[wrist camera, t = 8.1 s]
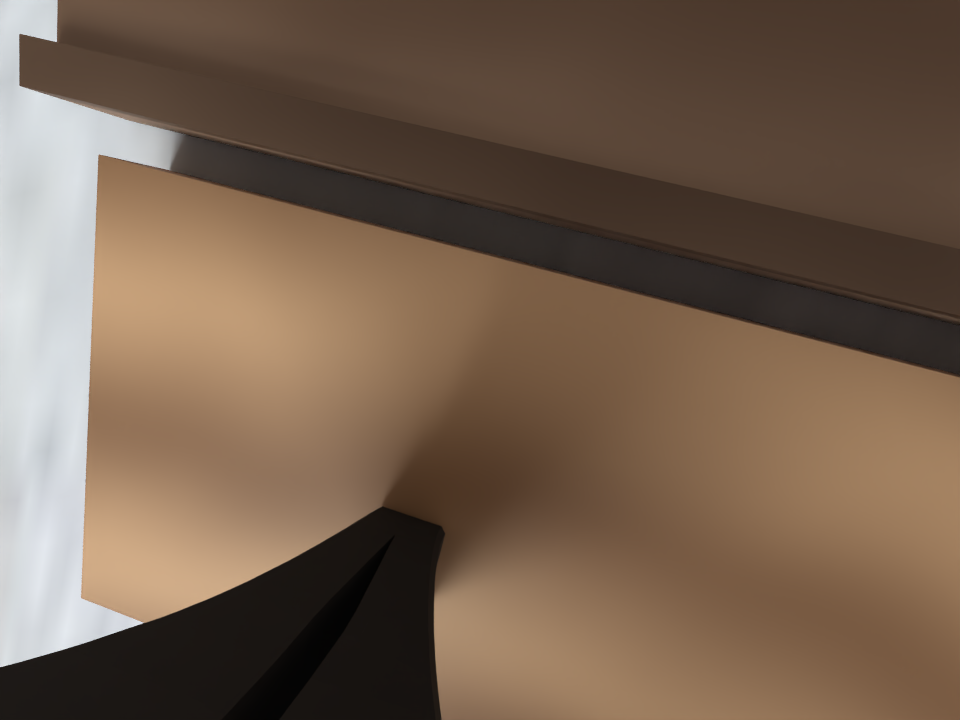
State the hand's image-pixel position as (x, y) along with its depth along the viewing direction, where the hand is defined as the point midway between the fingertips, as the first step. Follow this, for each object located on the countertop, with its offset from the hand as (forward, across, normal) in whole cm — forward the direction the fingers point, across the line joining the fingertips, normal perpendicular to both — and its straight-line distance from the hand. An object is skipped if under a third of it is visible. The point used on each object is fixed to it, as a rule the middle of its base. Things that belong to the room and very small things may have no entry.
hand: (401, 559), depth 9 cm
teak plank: (+2, -6, -1) cm, 6 cm away
